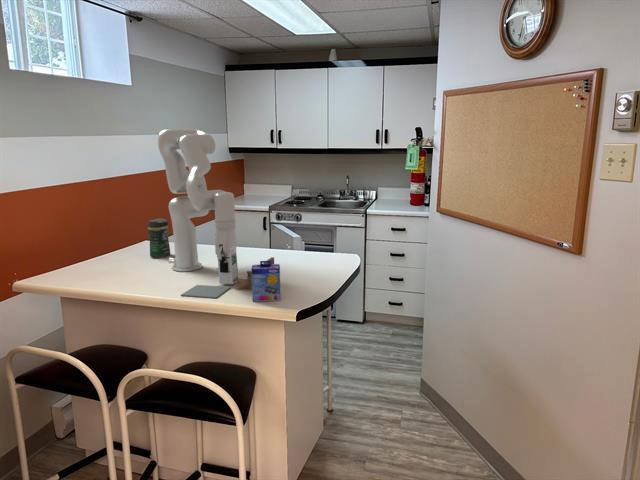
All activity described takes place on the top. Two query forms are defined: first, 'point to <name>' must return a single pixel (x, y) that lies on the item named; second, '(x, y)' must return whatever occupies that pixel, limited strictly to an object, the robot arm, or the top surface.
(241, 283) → the stair flight
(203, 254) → the top surface
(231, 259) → the syrup box
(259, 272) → the ink cartridge box
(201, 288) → the grey mat
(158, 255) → the coffee jar
